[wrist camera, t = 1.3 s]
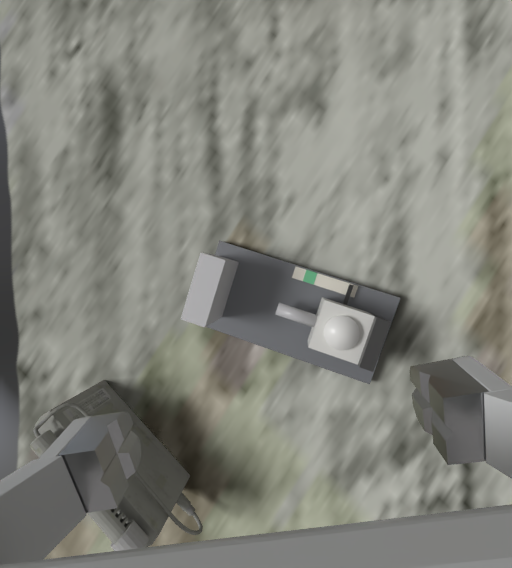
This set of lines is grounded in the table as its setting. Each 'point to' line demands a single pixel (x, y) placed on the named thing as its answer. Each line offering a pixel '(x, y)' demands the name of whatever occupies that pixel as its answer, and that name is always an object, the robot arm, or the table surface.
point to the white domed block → (342, 330)
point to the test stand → (274, 303)
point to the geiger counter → (142, 484)
